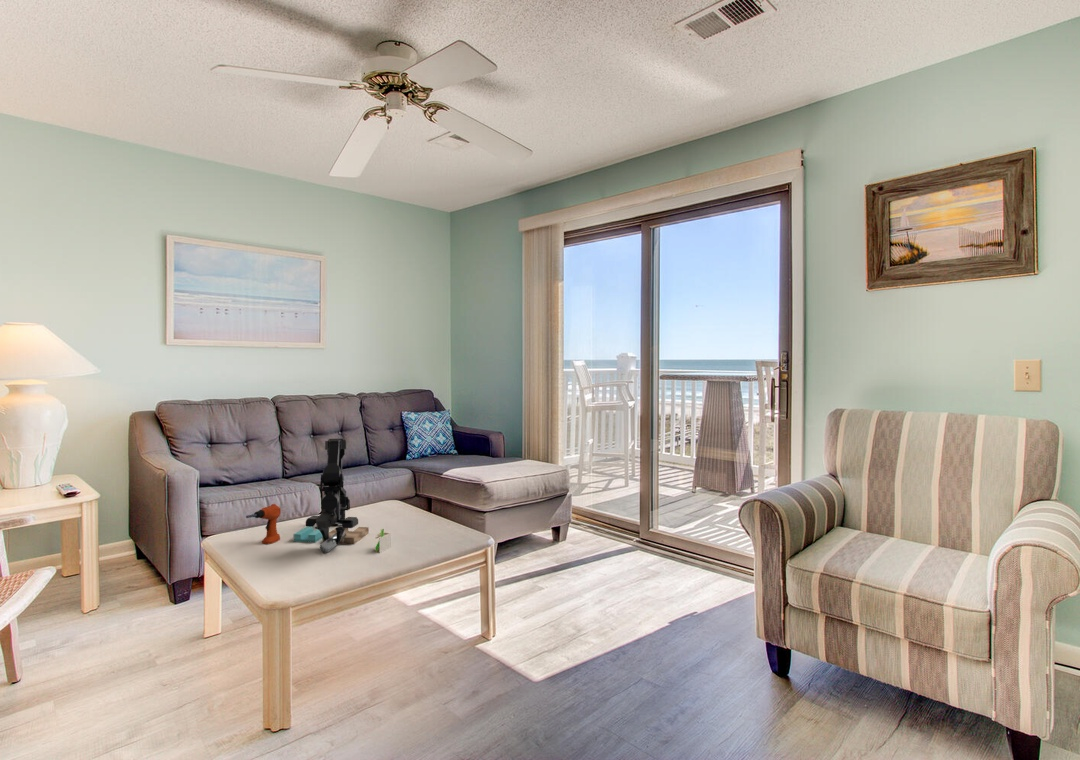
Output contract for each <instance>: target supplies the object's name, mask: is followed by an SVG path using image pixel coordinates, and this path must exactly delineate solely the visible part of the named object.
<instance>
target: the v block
mask: <svg viewBox="0 0 1080 760" xmlns="http://www.w3.org/2000/svg"><path fill="white" fill-rule="evenodd" d="M314 529H315V527H314V526H313V527H307V526H305V527H304V528H302V529H299V530H298V531H297V532H295V533H293V542H295V543H313V544H314V543H317V542H318V541H320V540H323V536H322V534H321V532H320V531H319V530H318V529H315V530H314Z"/></svg>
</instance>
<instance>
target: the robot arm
mask: <svg viewBox="0 0 1080 760" xmlns="http://www.w3.org/2000/svg"><path fill="white" fill-rule="evenodd" d="M347 449H348V441H347V440H346V438H345V439H344V438H341V437H339V438H338V437H337V438H328V439H327V440H325V441H324V450H325V451H327V464H326V466H325V467H324V468H323V470H322V474H320V486H319V492H323V497H322V499H321V502H320V504H321V507H322V509H321V514H319V515H312V516H310V517H308V518H306V519H305V527H314V526H315V527H314V529H315V530H317V529H318V530H319V531H320V532H321V534H322V536H323V538H324V541H326V540H327V539H328V538H329V532H330V527H331V526H333V527H335V526H336V528H334V529H336V531H337V536H336V543H337V545H339V542H340V539H341V537H342V534H343V532H344V530H345V528H348V529H352V528H355V526H356V527H357V526H358V525H359V519H358V517H357V516H347V517H346V511H347V512H348V511H349V510H351V501H350V499H349V496H347V495H348V494H347V490H346V489H345V488H344V485H345V484H344V483H345V482H344V481H345V476H344V474H343V458H344V456H345V455H346V450H347ZM323 538H322V539H323Z"/></svg>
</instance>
